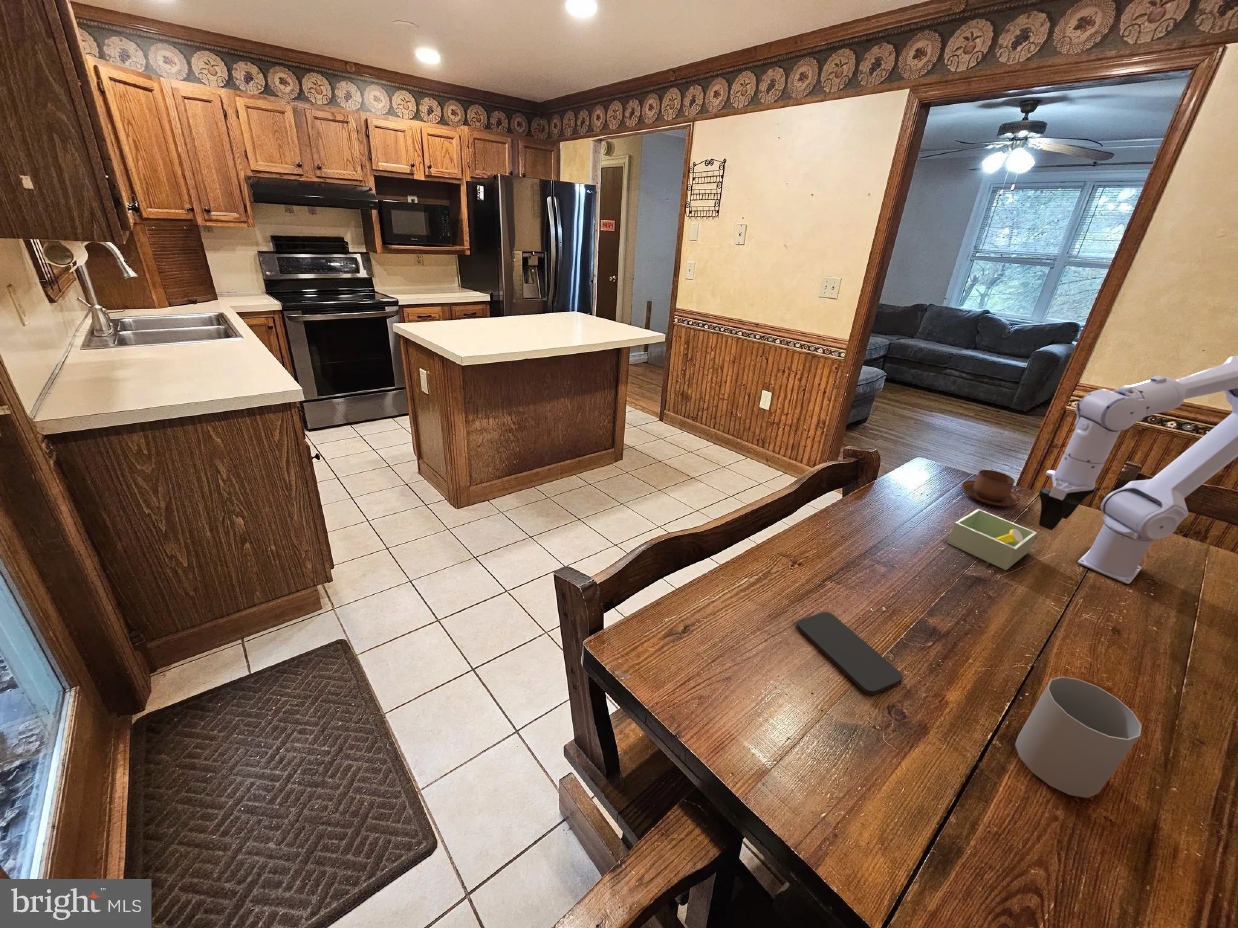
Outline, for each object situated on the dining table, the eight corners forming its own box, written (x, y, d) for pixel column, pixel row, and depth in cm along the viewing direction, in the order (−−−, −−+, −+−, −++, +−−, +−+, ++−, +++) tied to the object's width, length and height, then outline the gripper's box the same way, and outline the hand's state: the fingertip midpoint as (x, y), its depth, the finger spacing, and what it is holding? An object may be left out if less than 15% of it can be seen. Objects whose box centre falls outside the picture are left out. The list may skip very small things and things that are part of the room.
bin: (970, 528, 113) (978, 508, 111) (1027, 553, 105) (1037, 532, 103) (946, 542, 107) (954, 522, 105) (1005, 570, 99) (1015, 549, 97)
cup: (999, 733, 66) (1030, 677, 62) (1057, 730, 67) (1091, 675, 63) (1054, 799, 59) (1094, 741, 54) (1119, 795, 60) (1163, 738, 55)
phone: (828, 610, 85) (907, 677, 73) (827, 614, 85) (905, 681, 73) (793, 621, 82) (869, 693, 70) (792, 625, 82) (868, 697, 70)
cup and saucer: (961, 482, 134) (969, 461, 132) (1016, 497, 128) (1026, 475, 126) (957, 499, 125) (966, 477, 123) (1016, 516, 119) (1027, 493, 117)
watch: (983, 553, 104) (1012, 545, 99) (976, 540, 105) (1005, 532, 100) (1000, 547, 107) (1029, 539, 102) (993, 534, 108) (1021, 525, 103)
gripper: (1071, 441, 99) (1042, 503, 104) (1043, 457, 91) (1014, 522, 97) (1118, 455, 93) (1085, 518, 99) (1092, 472, 86) (1058, 540, 91)
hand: (1053, 521), depth 98 cm, fingers open, 7 cm apart
